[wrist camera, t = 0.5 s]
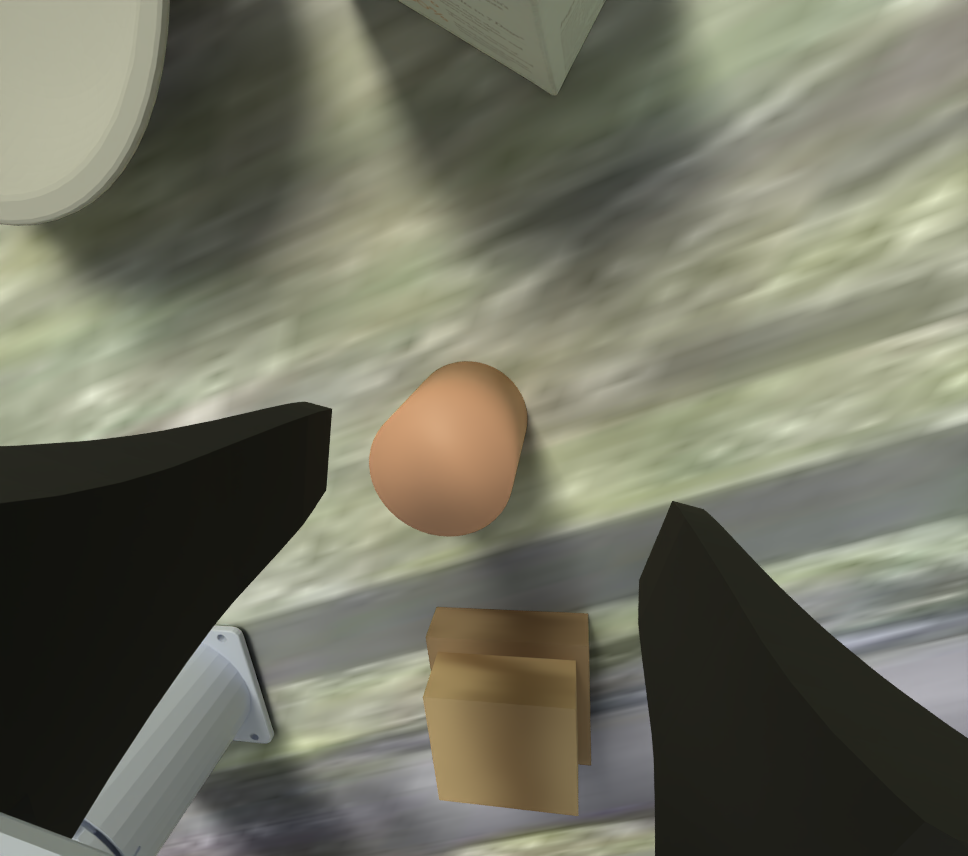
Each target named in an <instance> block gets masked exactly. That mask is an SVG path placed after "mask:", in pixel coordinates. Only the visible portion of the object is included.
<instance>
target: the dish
mask: <svg viewBox="0 0 968 856" xmlns="http://www.w3.org/2000/svg"><path fill="white" fill-rule="evenodd" d="M169 9H170V0H0V224H6V225H17V226H19V225H37V224H42V223H46V222H51V221H55V220H58V219H61V218H63V217H66V216H68V215H71V214H73V213H76V212H78V211H79V210H81V209H83V208H84V207H86V206H88V205H89V204H91V203H92V202H94V201H95V200H96V199H97V198H99V197H100V196H101V195H102V194H103V193H104V192H105V191H106V190H108V189H109V188H110V187H111V185H112V184H113V183H114V182H115V181H116V179H117V178H118V177H119V176H120V175H121V173H122V172H123V171H124V170H125V168H126V166H127V165H128V163H129V161H130V160H131V158H132V157H133V155H134V153H135V152H136V150H137V148H138V146H139V143H140V141H141V139H142V137H143V135H144V132H145V130H146V128H147V126H148V123H149V120H150V117H151V114H152V111H153V107H154V104H155V101H156V98H157V94H158V89H159V85H160V80H161V76H162V72H163V66H164V59H165V52H166V45H167V37H168V26H169Z"/></svg>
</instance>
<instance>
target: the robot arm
mask: <svg viewBox="0 0 968 856" xmlns="http://www.w3.org/2000/svg"><path fill="white" fill-rule="evenodd" d="M331 417H332V409H331V408H327V407H323V406H320V405H316V404H312V403H308V402H297V403H290V404H285V405H280V406H275V407H270V408H266V409H262V410H257V411H253V412H249V413H244V414H240V415H236V416H231V417H227V418H223V419H218V420H214V421H209V422H204V423H199V424H194V425H189V426H184V427H179V428H174V429H169V430H164V431H158V432H152V433H146V434H139V435H132V436H125V437H117V438H109V439H100V440H91V441H80V442H65V443H51V444H36V445H21V446H0V856H156V855H157V854H158V852H159V851H160V849H161V848H162V846H163V845H164V843H165V842H166V840H167V839H168V837H169V836H170V834H171V833H172V831H173V830H174V828H175V827H176V825H177V824H178V822H179V820H180V819H181V817H182V816H183V814H184V813H185V811H186V810H187V808H188V807H189V805H190V804H191V802H192V801H193V799H194V798H195V796H196V795H197V793H198V792H199V790H200V789H201V787H202V786H203V784H204V783H205V781H206V780H207V778H208V777H209V775H210V774H211V772H212V771H213V769H214V768H215V766H216V765H217V763H218V761H219V760H220V758H221V757H222V755H223V754H224V752H225V751H226V749H227V748H228V746H229V745H230V743H231V742H232V740H234V741H244V742H254V743H269V742H270V741H271V740H272V738H273V736H274V731H273V728H272V725H271V722H270V719H269V715H268V712H267V709H266V706H265V703H264V699H263V696H262V693H261V690H260V687H259V683H258V680H257V677H256V674H255V671H254V667H253V664H252V661H251V658H250V655H249V651H248V648H247V645H246V642H245V639H244V635H243V633H242V631H241V630H240V629H239V628H237V627H233V626H216V625H215V624H216V622H217V621H218V620H219V619H220V617H221V616H222V615H223V614H224V613H225V611H226V610H227V609H228V608H229V607H230V606H231V604H232V603H233V602H234V601H235V600H236V599H237V598H238V596H239V595H240V594H241V593H242V592H243V591H244V590H245V589H246V588H247V587H248V585H249V584H250V583H251V582H252V581H253V580H254V579H255V578H256V577H257V576H258V574H259V573H260V572H261V571H262V570H263V569H264V568H265V567H266V566H267V565H268V564H269V562H270V561H271V560H272V559H273V558H274V557H275V556H276V555H277V554H278V553H279V551H280V550H281V549H282V548H283V547H284V546H285V545H286V544H287V542H288V541H289V540H290V539H291V538H292V537H293V536H294V535H295V534H296V532H297V531H298V530H299V529H300V528H301V527H302V525H303V524H304V523H305V521H306V520H307V518H308V517H309V515H310V514H311V513H312V511H313V510H314V508H315V507H316V505H317V503H318V502H319V500H320V499H321V497H322V496H323V494H324V493H325V491H326V486H327V472H328V458H329V444H330V430H331ZM638 626H639V635H640V644H641V652H642V661H643V669H644V677H645V685H646V693H647V700H648V708H649V716H650V724H651V732H652V744H653V756H654V790H655V856H968V738H967V737H965V736H964V735H962V734H961V733H959V732H958V731H956V730H955V729H953V728H952V727H950V726H949V725H948V724H946V723H945V722H943V721H942V720H941V719H939V718H938V717H936V716H935V715H934V714H932V713H931V712H930V711H928V710H927V709H925V708H924V707H923V706H921V705H920V704H919V703H917V702H916V701H914V700H913V699H912V698H910V697H909V696H907V695H906V694H905V693H903V692H902V691H901V690H899V689H898V688H897V687H895V686H894V685H893V684H891V683H890V682H889V681H887V680H886V679H885V678H883V677H882V676H881V675H880V674H878V673H877V672H876V671H874V670H873V669H872V668H871V667H869V666H868V665H867V664H866V663H865V662H863V661H862V660H861V659H860V658H859V657H857V656H856V655H855V654H854V653H852V652H851V651H850V650H849V649H848V648H846V647H845V646H844V645H843V644H842V643H840V642H839V641H838V640H837V639H835V638H834V637H833V636H832V635H831V634H830V633H829V632H827V631H826V630H825V629H824V628H823V627H822V626H821V625H820V624H818V623H817V622H816V621H815V620H814V619H813V618H812V617H811V616H810V615H809V614H808V613H807V612H806V611H804V610H803V609H802V608H801V607H800V606H799V605H798V604H797V603H796V602H795V601H794V600H793V599H792V598H791V597H790V596H789V595H788V594H787V593H786V592H785V591H784V590H782V589H781V588H780V587H779V586H778V585H777V584H776V583H775V582H774V581H773V580H772V579H771V578H770V576H769V575H768V574H767V573H766V572H765V571H764V570H763V569H762V568H761V567H760V566H759V565H758V564H757V563H756V562H755V561H754V560H753V559H752V558H751V557H750V556H749V555H748V554H747V553H746V551H745V550H744V549H743V548H742V547H741V546H740V545H739V544H738V543H737V542H736V541H735V540H734V539H733V538H732V537H731V536H730V534H729V533H728V532H727V531H726V530H725V529H724V528H723V527H722V526H721V525H720V524H719V523H718V522H717V521H716V520H715V519H714V518H713V517H712V516H711V515H710V514H709V513H707V512H706V511H705V510H704V509H700V508H697V507H693V506H689V505H686V504H682V503H678V502H675V501H672V503H671V506H670V508H669V510H668V513H667V515H666V518H665V520H664V522H663V525H662V527H661V529H660V532H659V534H658V537H657V539H656V541H655V544H654V546H653V548H652V551H651V553H650V556H649V558H648V560H647V563H646V565H645V567H644V570H643V572H642V575H641V577H640V579H639V606H638Z"/></svg>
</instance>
